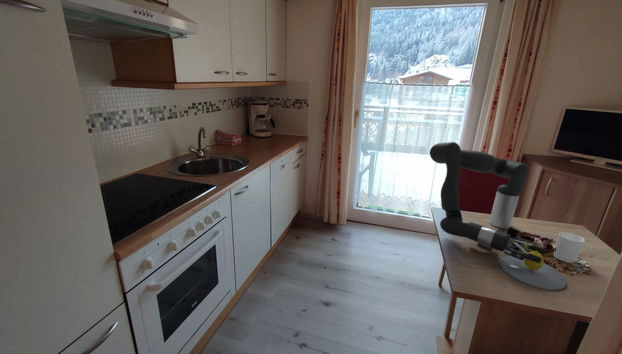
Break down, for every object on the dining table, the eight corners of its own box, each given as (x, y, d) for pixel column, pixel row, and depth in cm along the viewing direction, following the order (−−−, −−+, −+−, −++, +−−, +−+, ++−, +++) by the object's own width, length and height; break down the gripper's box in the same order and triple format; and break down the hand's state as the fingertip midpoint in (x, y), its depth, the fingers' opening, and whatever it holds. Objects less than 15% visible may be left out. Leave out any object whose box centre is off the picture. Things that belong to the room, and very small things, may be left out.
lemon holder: (478, 243, 124) (479, 239, 124) (498, 251, 119) (500, 247, 118) (468, 252, 117) (469, 248, 116) (490, 261, 111) (491, 257, 111)
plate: (507, 251, 119) (507, 249, 119) (569, 274, 106) (570, 272, 105) (492, 269, 106) (493, 267, 106) (561, 298, 92) (562, 296, 92)
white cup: (551, 250, 121) (558, 230, 118) (576, 258, 117) (584, 236, 114) (551, 258, 116) (559, 237, 113) (577, 266, 111) (586, 244, 108)
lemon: (523, 271, 105) (528, 252, 102) (520, 264, 109) (525, 245, 107) (541, 276, 102) (547, 257, 100) (538, 268, 107) (544, 249, 105)
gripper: (489, 235, 108) (542, 254, 96) (500, 225, 117) (549, 240, 106) (485, 252, 110) (536, 273, 99) (496, 241, 119) (544, 258, 108)
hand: (543, 256), depth 102 cm, fingers open, 8 cm apart
